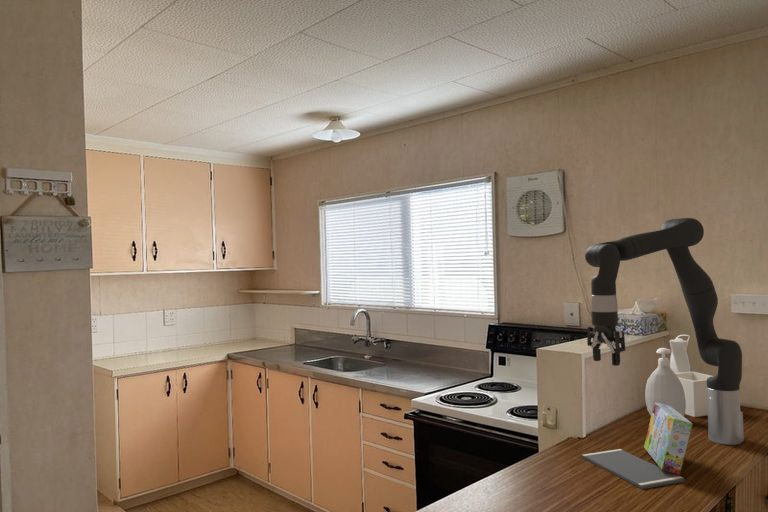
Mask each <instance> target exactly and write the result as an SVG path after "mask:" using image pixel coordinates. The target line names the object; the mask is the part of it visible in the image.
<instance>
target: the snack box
mask: <svg viewBox="0 0 768 512" xmlns="http://www.w3.org/2000/svg"><path fill="white" fill-rule="evenodd" d="M692 428H693V423H692V421H690V420H689V419H688V418H686V417H685V416H684V417H683V416H682V415H681V414H680V413H678V412H677V411H676V410H675V409H673V408H672V407H671V406H667V405H664V404H660V403H654V406H653V411H652V415H650V421H649V424H648V429H647V433H646V435H645V442H644V445H643V449H645V450H646V452H647V453H648V454H649V456H650V458H652V459H653V461H654V462H655V463H656V464H657V466H658V467H660V468H661V470H664V471H667V472H671V473H673V474H676V475H678V476H680V475H681V471H682V469H683V464H684V459H685V456H686V451H687V448H688V444H689V439H690V436H691V432H692Z"/></svg>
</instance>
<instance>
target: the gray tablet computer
mask: <svg viewBox="0 0 768 512" xmlns="http://www.w3.org/2000/svg"><path fill="white" fill-rule="evenodd" d="M580 457H581V458H582V459H584V460H586V461H588V462H590V463H592V464H593V465H595V466H597V467H599V468H601V469H603V470H605V471H607V472H609V473H610V474H613V475H615V476H616V477H618V478H620V479H622V480H623V481H624V480H625V482H628V483H630V484H631V485H633V486H635V487H637V488H639V489H641V490H645V489H650V488H655V487H661V486H662V487H663V486H668V485H673V484H679V483H684V482H685V481H686V480H685V478H684V477H682V476H680V475H678V474H674V473H671V472H667V471H664V470H661V468H660V467H659V466H658V465H655V464H654V463H651V462H649V461H647V460H644V459H642V458H640V457H638V456H635V455H633V454H632V453H629V452H627V451H625V450H624V449H622V448H615V449H608V450H603V451H597V452H589V453H584V454H581V456H580Z"/></svg>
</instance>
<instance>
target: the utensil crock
mask: <svg viewBox="0 0 768 512" xmlns="http://www.w3.org/2000/svg"><path fill="white" fill-rule="evenodd" d="M675 374H676V375H677V377H678V378H679V380H680V382H681V383H682V386H683V389H684V393H685V399H686V410H685V414H684V415H687V416H691V417H693V418H697V417H704V416H708V406H707V379H708V378H709V377H713V376H714V375H711V374H706V373H702V372H697V371H690V372H684V373H675Z"/></svg>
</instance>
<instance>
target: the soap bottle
mask: <svg viewBox="0 0 768 512" xmlns="http://www.w3.org/2000/svg"><path fill="white" fill-rule="evenodd" d="M655 353H656V354H660V355H661V357H659V358H658V359H657V362H658V363H657V364H658V365H657V368H655V370H654V371H652V373H651V374H650V376H649V377H648V379H647V381H646V385H645V392H644V393H645V395H644V396H645V405H646V409H647V412H648V413H649V415H650V416H651V415H652V411H653V406H654V403H660V404H664V405H667V406H671V407H672V408H673V409H675V410H676V411H677V412H678V413H680V414H681V415H682V416H683V417H685V415H686V414H685V410H686V399H685V393H684V389H683V386H682V383H681V382H680V380H679V378H678V377H677V375H676V374H675V373H674V372H673V370H672V369H671V368H670V359H669V358H667V357H666V355H668V354H670V355H671V353H672V349H671V348H670V349H669V348H666V347H659V348H658V349H657V350H656V352H655Z"/></svg>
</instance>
